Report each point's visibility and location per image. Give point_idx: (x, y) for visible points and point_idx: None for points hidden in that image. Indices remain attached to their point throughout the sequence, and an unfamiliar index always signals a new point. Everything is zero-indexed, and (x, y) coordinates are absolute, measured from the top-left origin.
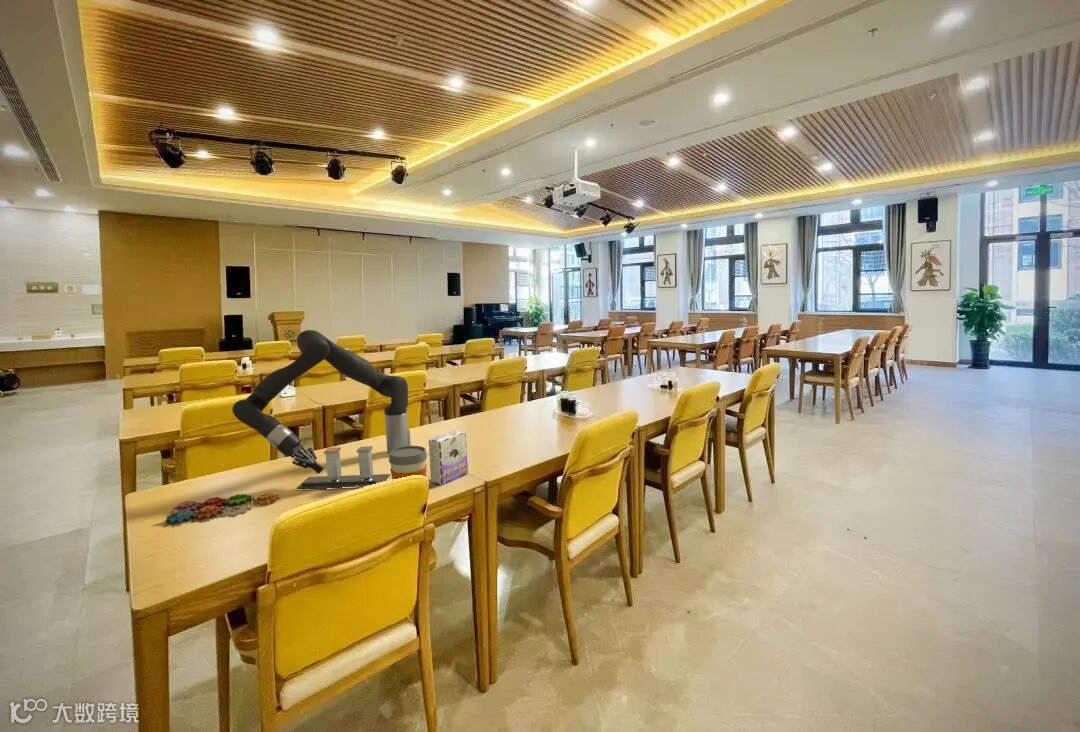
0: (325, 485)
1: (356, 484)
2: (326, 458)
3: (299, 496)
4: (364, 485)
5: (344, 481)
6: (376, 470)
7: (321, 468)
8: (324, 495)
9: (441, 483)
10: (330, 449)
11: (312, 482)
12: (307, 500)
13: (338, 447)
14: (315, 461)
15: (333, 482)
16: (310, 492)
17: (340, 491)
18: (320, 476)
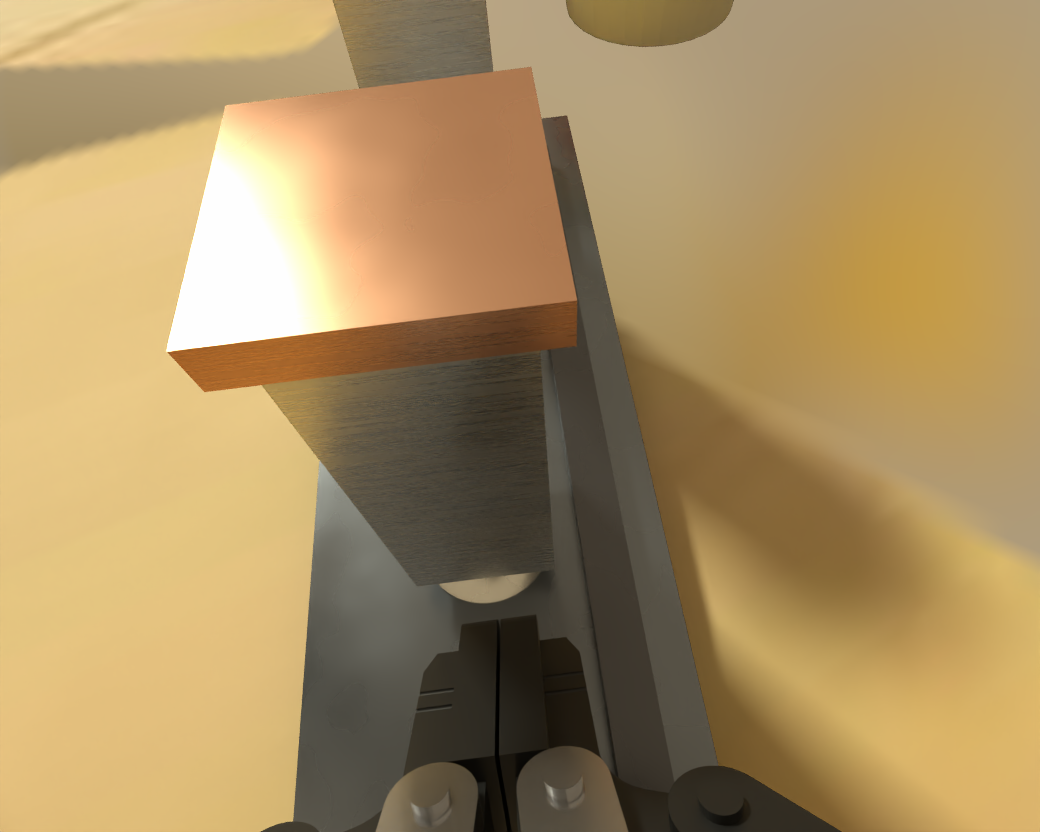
0: (650, 564)
1: (587, 273)
2: (539, 395)
3: (962, 820)
4: (590, 219)
5: (574, 365)
6: (148, 311)
7: (521, 625)
8: (828, 493)
9: None
10: (378, 219)
11: (645, 781)
12: (1024, 617)
13: (224, 136)
14: (464, 769)
15: (611, 469)
16: (791, 725)
17: (692, 388)
18: None
